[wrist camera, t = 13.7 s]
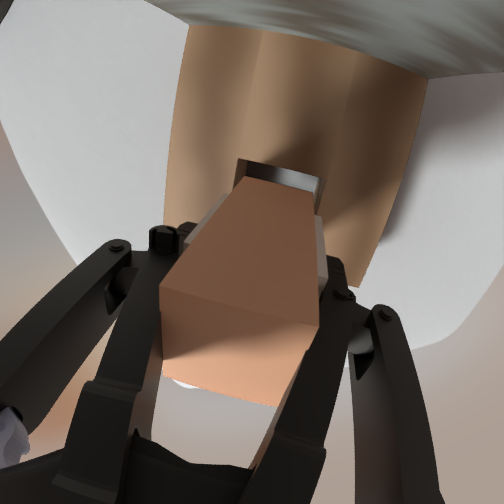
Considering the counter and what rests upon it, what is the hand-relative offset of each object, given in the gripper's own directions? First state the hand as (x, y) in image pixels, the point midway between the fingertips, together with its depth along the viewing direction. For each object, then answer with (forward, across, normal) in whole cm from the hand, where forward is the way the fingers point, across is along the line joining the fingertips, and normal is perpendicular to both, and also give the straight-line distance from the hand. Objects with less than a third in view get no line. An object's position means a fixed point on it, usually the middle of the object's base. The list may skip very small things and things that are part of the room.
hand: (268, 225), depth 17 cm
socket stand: (+8, 0, +4) cm, 9 cm away
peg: (+2, 0, 0) cm, 2 cm away
